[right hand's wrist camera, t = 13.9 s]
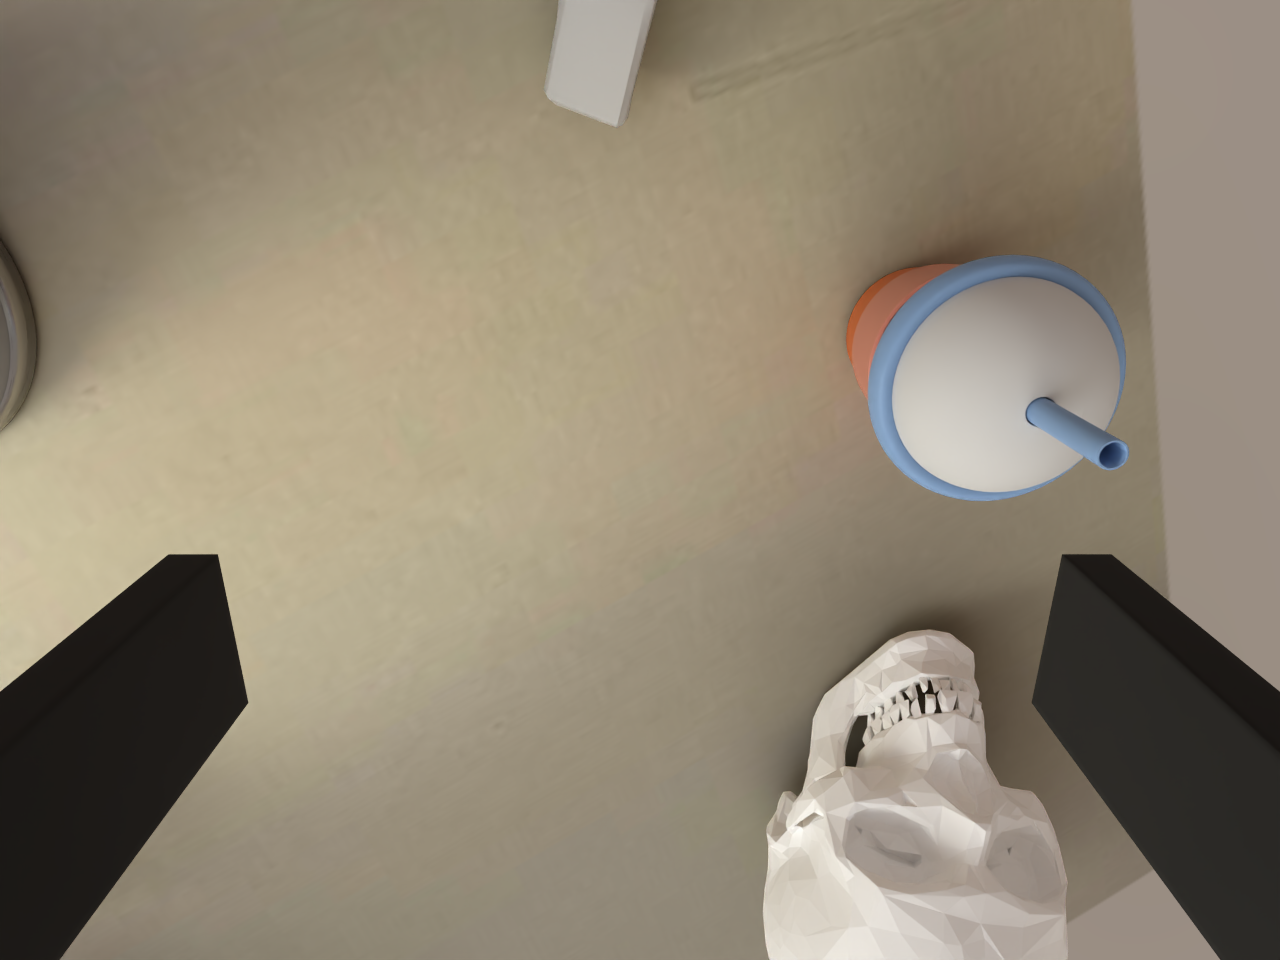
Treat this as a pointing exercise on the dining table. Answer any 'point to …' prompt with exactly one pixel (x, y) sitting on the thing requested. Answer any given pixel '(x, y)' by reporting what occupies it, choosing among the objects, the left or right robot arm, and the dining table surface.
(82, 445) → the dining table surface
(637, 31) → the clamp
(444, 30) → the dining table surface
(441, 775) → the dining table surface
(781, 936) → the skull
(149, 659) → the right robot arm
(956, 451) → the cup with straw
